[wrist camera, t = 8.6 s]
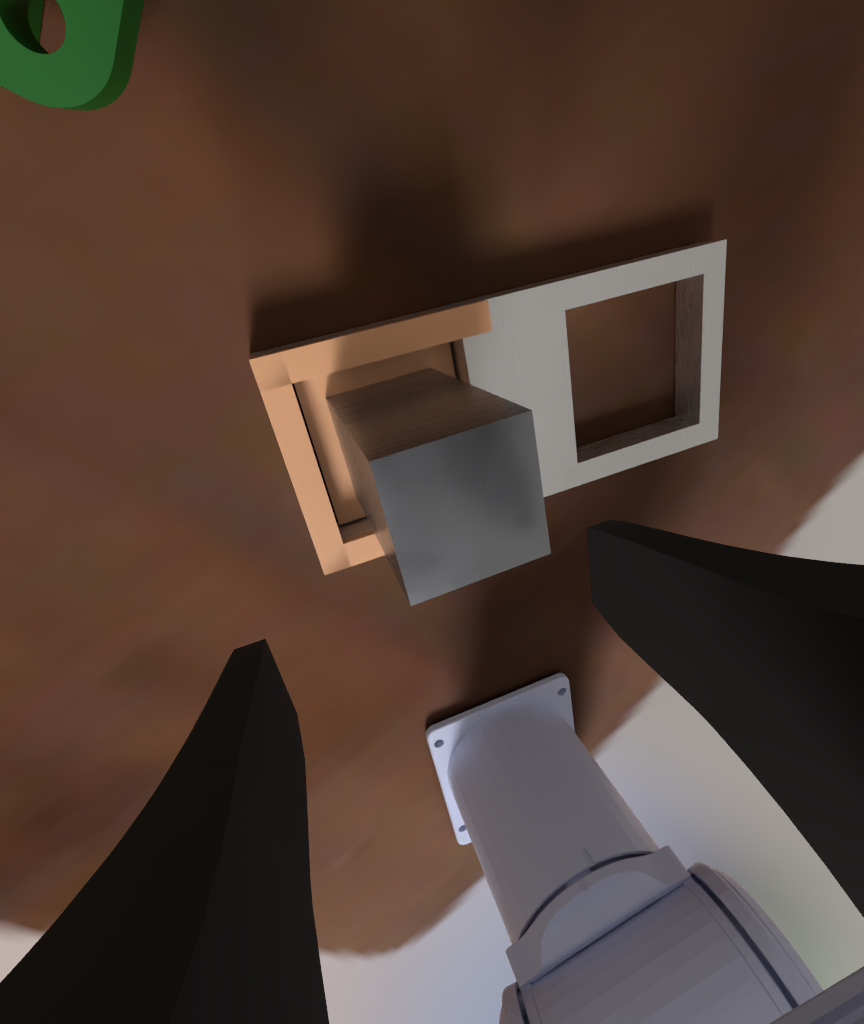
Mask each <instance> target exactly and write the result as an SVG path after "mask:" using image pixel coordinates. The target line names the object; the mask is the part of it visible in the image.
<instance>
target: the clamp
mask: <svg viewBox="0 0 864 1024" xmlns="http://www.w3.org/2000/svg"><path fill="white" fill-rule="evenodd" d="M56 1H57V2H58V4H59V6H60V8H61V10H62V13H63V16H64V19H65V25H66V36H65V40H64V42H63V44H62V46H61V47H60V48H59V49H58V50H57V51H56V52H54V53H51V54H49V53H48V52H47V51H46V50H44V48H43V47H42V46H41V45H40V44H39V38H40V29H41V19H42V9H43V0H0V86H2V87H4V88H6V89H8V90H10V91H12V92H14V93H16V94H18V95H20V96H22V97H24V98H26V99H28V100H30V101H33V102H35V103H38V104H41V105H45V106H49V107H56V108H64V109H73V110H85V111H88V110H96V109H100V108H103V107H105V106H107V105H109V104H111V103H112V102H114V101H115V100H116V99H117V98H118V97H119V96H120V95H121V94H122V92H123V91H124V89H125V88H126V86H127V84H128V81H129V78H130V75H131V71H132V66H133V60H134V54H135V49H136V43H137V37H138V32H139V26H140V20H141V14H142V9H143V3H144V0H56Z"/></svg>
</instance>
